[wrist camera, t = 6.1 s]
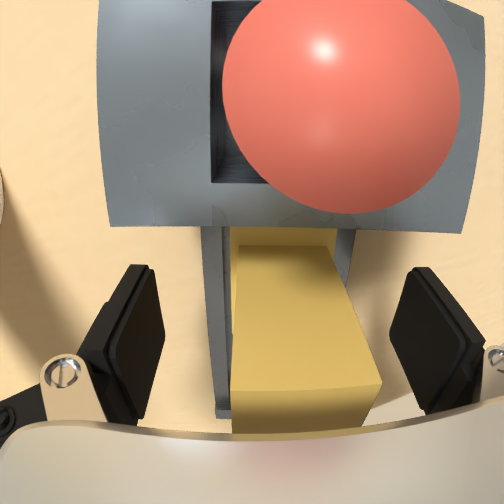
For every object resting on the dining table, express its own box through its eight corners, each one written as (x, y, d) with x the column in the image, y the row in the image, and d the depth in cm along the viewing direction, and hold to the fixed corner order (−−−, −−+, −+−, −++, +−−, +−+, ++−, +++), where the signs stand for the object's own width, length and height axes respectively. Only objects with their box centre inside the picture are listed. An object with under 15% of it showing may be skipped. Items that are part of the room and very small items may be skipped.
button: (354, 45, 7) (460, 11, 2) (349, 152, 8) (442, 219, 4) (239, 36, 7) (224, -32, 2) (237, 146, 8) (222, 210, 4)
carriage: (324, 198, 12) (411, 347, 5) (312, 301, 15) (349, 463, 7) (233, 196, 12) (210, 354, 5) (234, 301, 15) (224, 469, 7)
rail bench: (384, 41, 11) (483, 16, 4) (331, 379, 20) (350, 470, 14) (171, 29, 11) (101, -19, 4) (196, 380, 20) (183, 473, 14)
